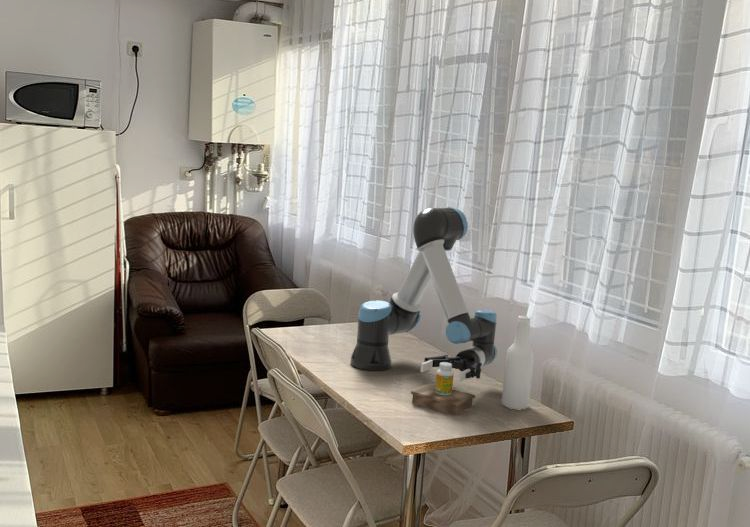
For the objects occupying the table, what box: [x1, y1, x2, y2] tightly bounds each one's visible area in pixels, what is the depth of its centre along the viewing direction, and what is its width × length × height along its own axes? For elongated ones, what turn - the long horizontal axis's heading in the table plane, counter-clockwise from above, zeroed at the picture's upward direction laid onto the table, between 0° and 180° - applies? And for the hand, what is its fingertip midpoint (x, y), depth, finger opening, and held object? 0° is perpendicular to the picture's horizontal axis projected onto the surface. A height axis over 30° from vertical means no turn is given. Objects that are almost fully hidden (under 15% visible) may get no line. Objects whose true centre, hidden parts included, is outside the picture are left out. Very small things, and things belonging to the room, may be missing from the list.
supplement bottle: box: [435, 362, 455, 396], centre depth 251 cm, size 5×5×10 cm
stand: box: [410, 382, 476, 416], centre depth 252 cm, size 17×12×4 cm
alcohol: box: [501, 315, 535, 410], centre depth 255 cm, size 9×9×30 cm
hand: (440, 372), depth 248 cm, fingers open, 13 cm apart
